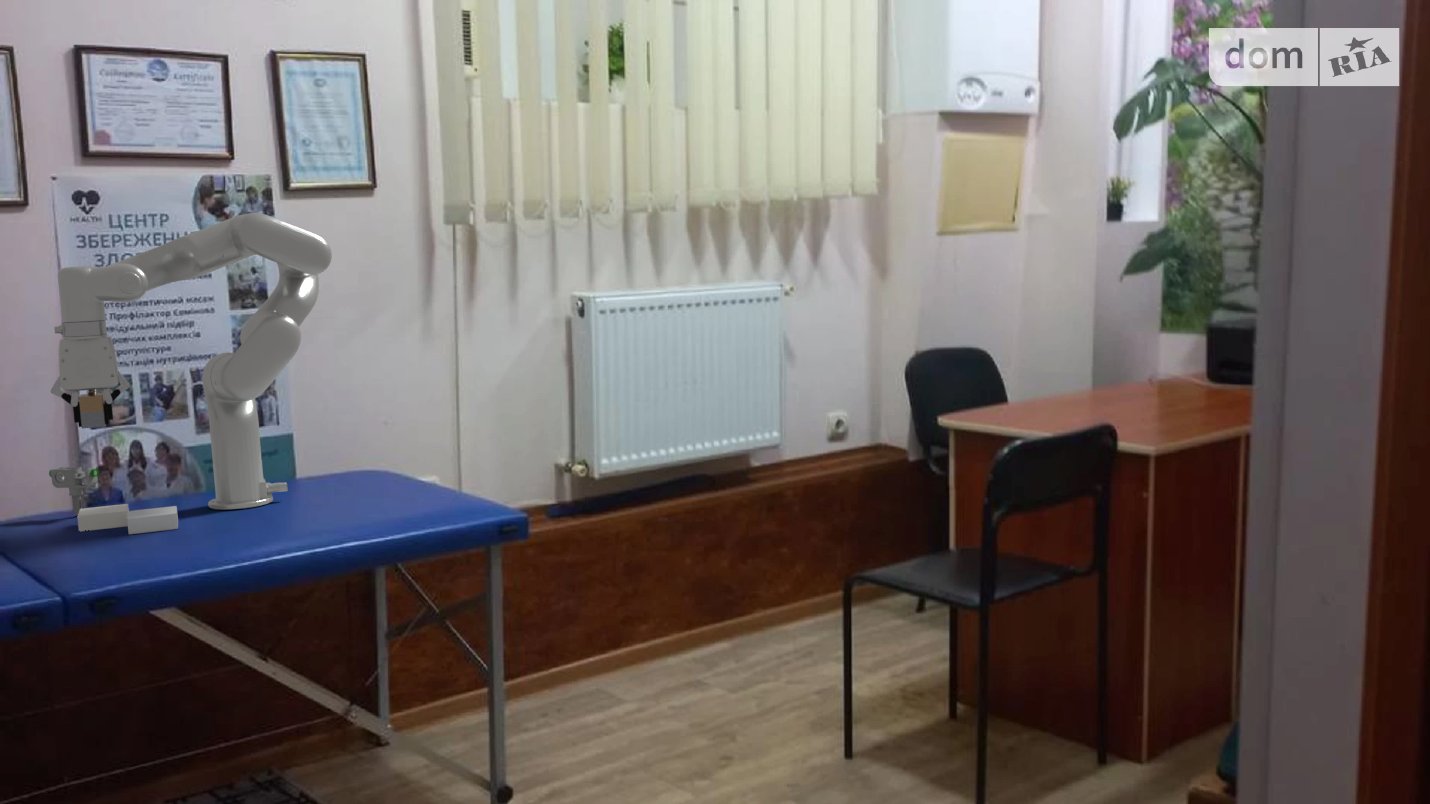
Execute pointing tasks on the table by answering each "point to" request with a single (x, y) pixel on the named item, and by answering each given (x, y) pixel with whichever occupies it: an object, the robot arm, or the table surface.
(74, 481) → the mechanical component
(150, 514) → the stand
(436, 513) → the table surface
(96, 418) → the housing
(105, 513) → the stand
